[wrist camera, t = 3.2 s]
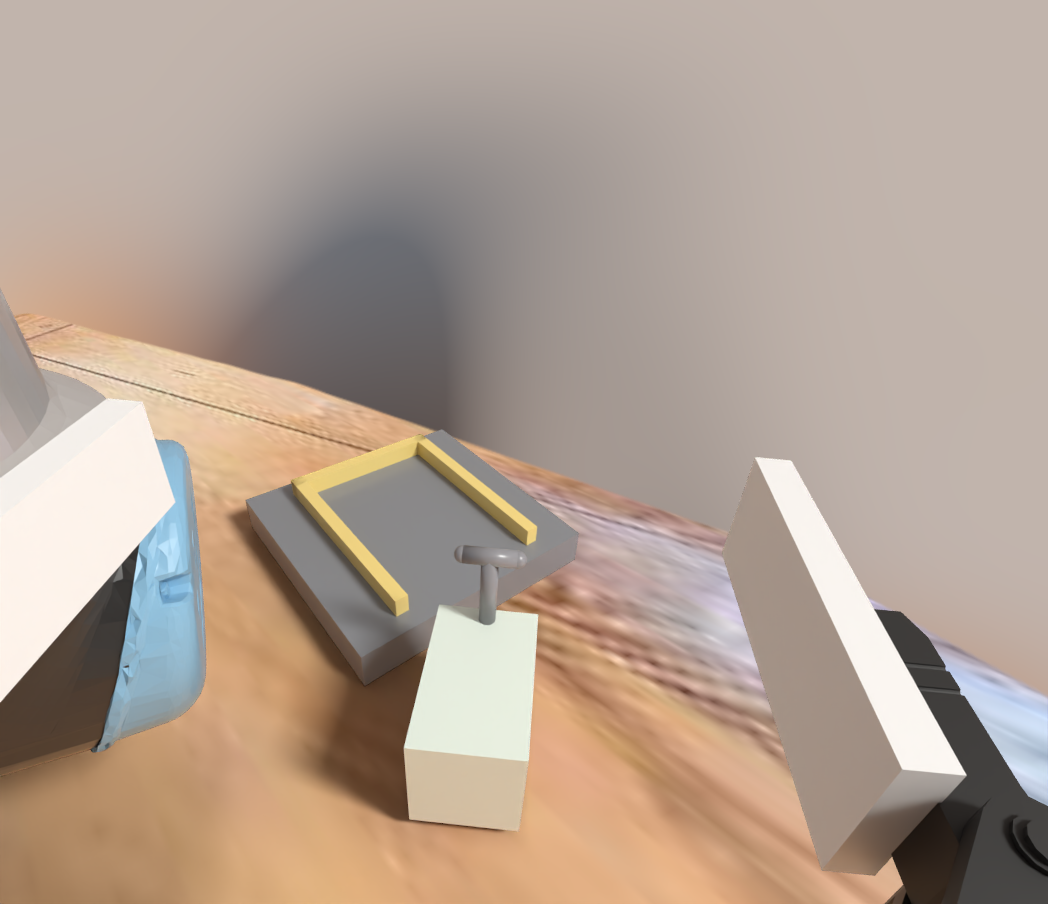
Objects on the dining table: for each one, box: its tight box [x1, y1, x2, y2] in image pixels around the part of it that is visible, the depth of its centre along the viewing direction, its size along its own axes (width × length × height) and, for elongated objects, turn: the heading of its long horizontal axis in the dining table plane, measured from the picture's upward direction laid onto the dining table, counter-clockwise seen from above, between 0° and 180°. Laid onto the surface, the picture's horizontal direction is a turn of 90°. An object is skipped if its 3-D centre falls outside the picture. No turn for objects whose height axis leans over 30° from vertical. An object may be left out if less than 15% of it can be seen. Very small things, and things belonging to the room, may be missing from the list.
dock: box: [246, 430, 579, 686], centre depth 50 cm, size 20×20×4 cm
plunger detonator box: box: [404, 545, 538, 831], centre depth 33 cm, size 6×9×14 cm, turn 176°
